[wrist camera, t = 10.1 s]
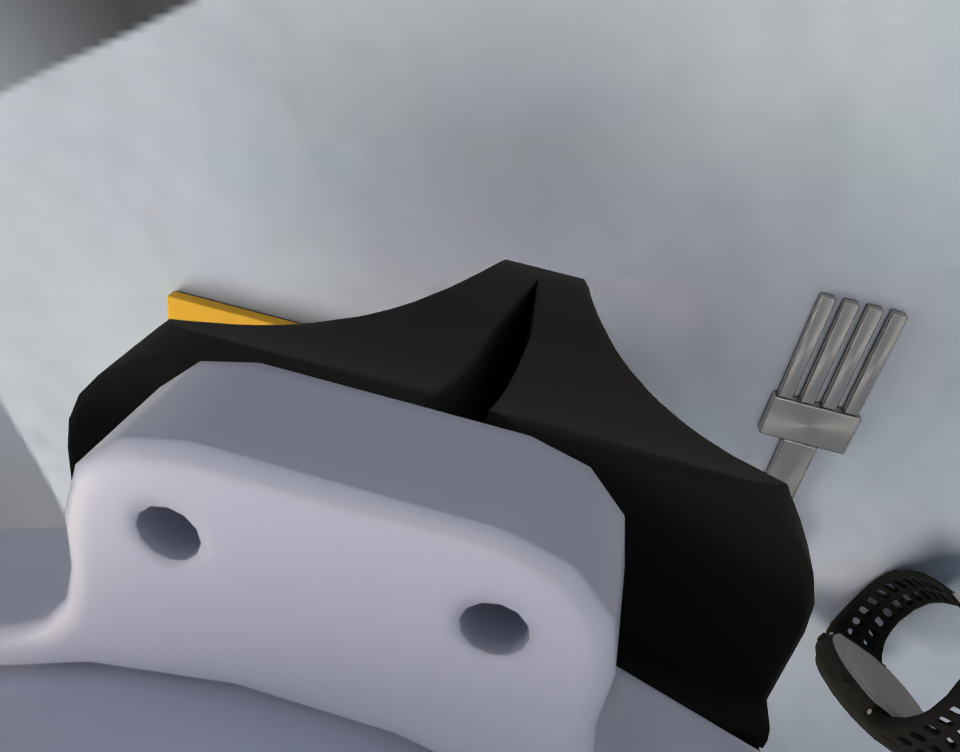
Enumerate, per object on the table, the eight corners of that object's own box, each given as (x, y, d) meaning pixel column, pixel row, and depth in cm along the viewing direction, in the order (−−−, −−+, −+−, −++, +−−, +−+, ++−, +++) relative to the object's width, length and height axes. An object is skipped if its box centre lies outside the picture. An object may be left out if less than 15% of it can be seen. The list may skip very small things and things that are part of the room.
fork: (704, 718, 29) (704, 731, 28) (640, 700, 29) (639, 712, 28) (910, 314, 20) (914, 322, 20) (816, 291, 20) (819, 299, 20)
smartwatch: (789, 572, 25) (811, 710, 20) (974, 521, 23) (1041, 664, 18) (841, 664, 26) (872, 811, 22) (1020, 624, 24) (1093, 779, 20)
